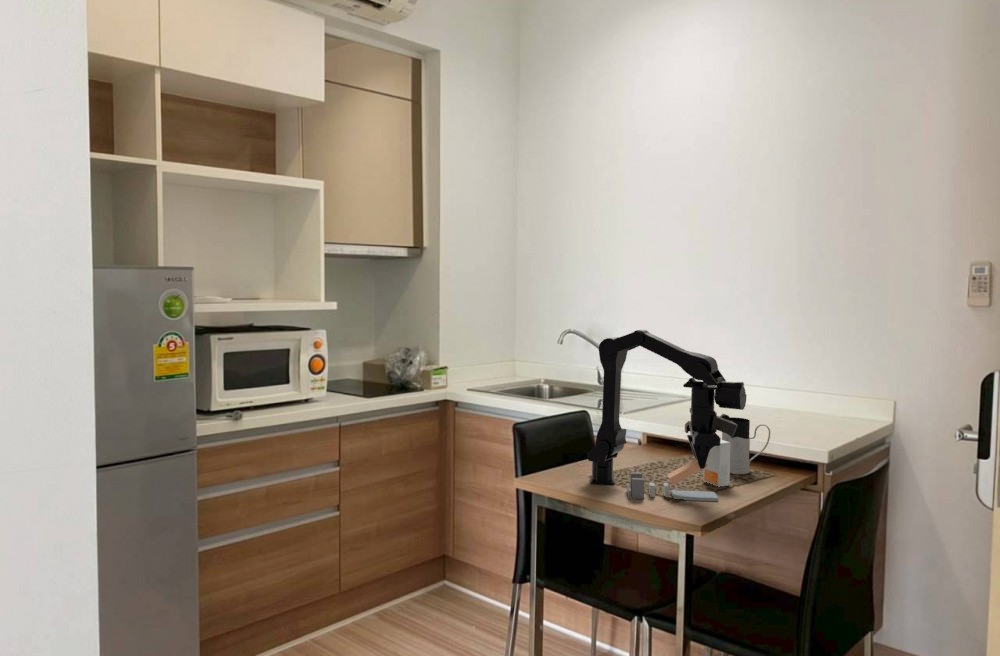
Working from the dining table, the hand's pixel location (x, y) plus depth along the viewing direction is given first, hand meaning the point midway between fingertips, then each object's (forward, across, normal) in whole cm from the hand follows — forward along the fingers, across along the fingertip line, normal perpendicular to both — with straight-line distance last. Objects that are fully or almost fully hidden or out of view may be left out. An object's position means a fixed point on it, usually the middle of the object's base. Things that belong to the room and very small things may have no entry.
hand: (700, 466), depth 199 cm
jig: (+8, 0, +12) cm, 15 cm away
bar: (+2, 0, +3) cm, 3 cm away
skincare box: (+8, +14, -7) cm, 18 cm away
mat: (+8, 0, +1) cm, 8 cm away
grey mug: (+8, +32, -18) cm, 37 cm away
